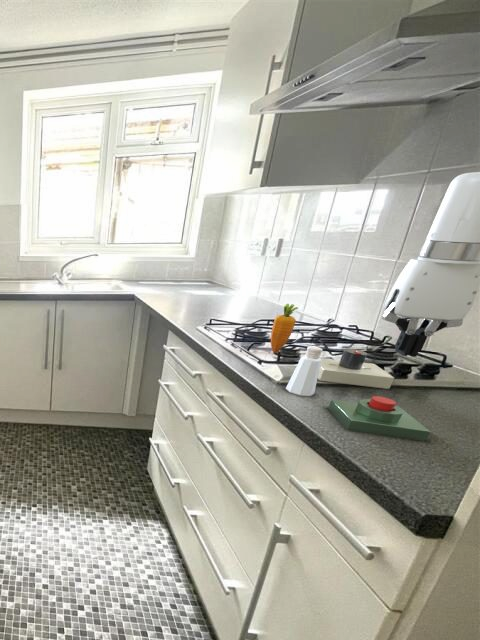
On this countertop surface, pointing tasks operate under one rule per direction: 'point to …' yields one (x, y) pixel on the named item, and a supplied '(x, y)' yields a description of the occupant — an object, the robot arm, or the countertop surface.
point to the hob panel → (354, 374)
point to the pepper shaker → (306, 373)
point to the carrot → (282, 328)
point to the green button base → (377, 420)
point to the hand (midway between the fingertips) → (405, 353)
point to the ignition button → (382, 403)
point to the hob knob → (352, 359)
